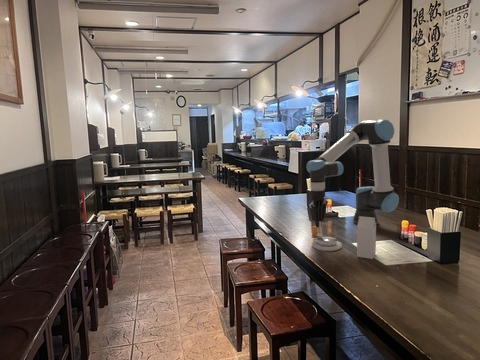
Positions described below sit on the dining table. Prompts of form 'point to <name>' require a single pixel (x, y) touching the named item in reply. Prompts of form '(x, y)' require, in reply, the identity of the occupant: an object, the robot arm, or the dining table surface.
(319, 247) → the plate
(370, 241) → the milk carton
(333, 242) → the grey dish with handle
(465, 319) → the dining table surface
